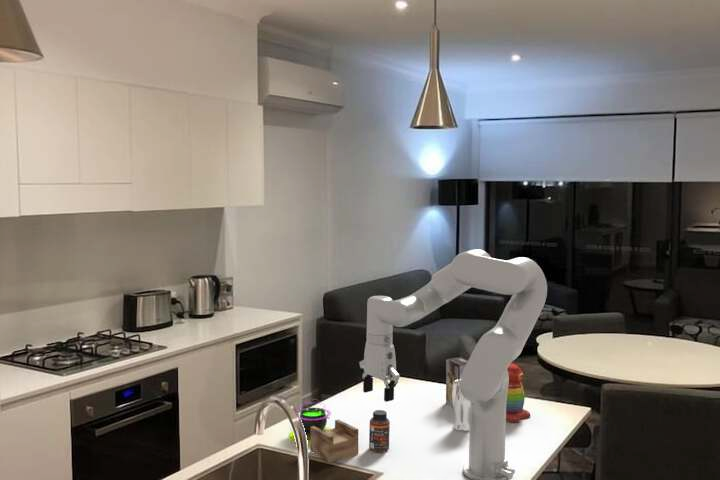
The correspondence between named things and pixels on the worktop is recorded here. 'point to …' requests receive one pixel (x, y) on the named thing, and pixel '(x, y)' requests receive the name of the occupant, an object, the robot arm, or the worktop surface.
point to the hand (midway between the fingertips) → (378, 396)
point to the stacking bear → (515, 396)
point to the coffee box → (453, 375)
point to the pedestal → (334, 441)
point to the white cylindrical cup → (460, 409)
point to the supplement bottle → (379, 432)
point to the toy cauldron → (312, 420)
